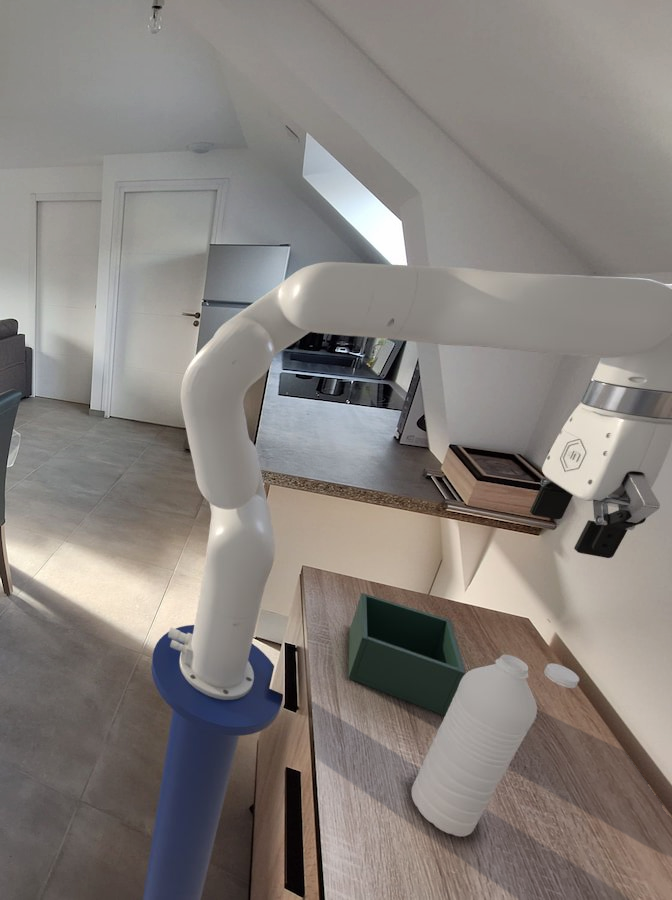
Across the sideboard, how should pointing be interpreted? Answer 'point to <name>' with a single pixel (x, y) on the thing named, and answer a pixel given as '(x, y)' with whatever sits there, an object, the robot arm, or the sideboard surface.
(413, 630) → the tote
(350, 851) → the sideboard surface
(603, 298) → the robot arm
